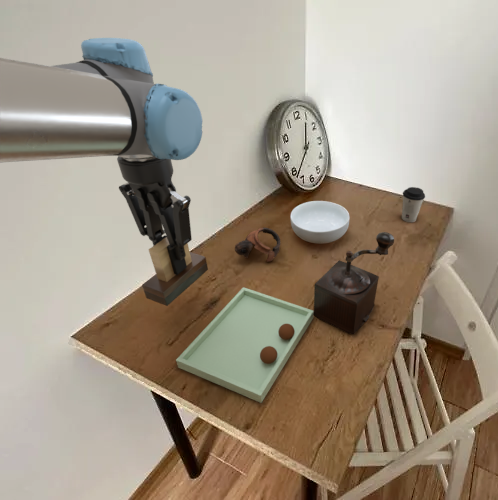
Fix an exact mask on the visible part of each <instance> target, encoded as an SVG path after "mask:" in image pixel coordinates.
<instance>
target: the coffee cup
mask: <svg viewBox="0 0 498 500" xmlns="http://www.w3.org/2000/svg"><path fill="white" fill-rule="evenodd" d="M425 198H426V194H425V193H424V190H423V189H422V188H420V187H415V186H410V187H408V188H406V189H404V190H403V191H402V208H401V219H402V220H403V221H404V222H406V223H414V222H416V221H417V218H418V215H419V213H420V210H421V209H422V208H421V207H422V205H423V202H424V200H425Z"/></svg>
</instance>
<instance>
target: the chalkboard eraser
mask: <svg viewBox="0 0 498 500" xmlns="http://www.w3.org/2000/svg"><path fill="white" fill-rule="evenodd" d="M168 245H170V244H169V242H168V239H167V237H166V238H165V239H163V240H162V241H160V242H159V243H157V244H156V245H154V246H151V247H150V248H148V253H149V255H150V259H151V263H152V265H153V269H154V271H155V274H154V275H153V276H151V277H150V278H149V279H147V280H146V281H144V283H142V284H141V287H142V289H143V292H144V295H145V298H146V299H147V300H150V301H153V302H156V303H157V304H161V305H163V306H166V307H168V306H170V304H171V303H173V302H174V301H175V300H176V299H177V298H179V296H180V295H182V294H183V293H184V292H185V291H186V290H187V289H188V288H190V287H191V286H192V285H193V284H194V283H195V282H196V281H197V280H198V279H199V278H200V277H202V276H203V275H204V274H205V273H206V272H207V271H208V270H209V268H208V267H209V266H208V262H207V257H206V256H204V255H201V254H197V253H194V252H191V251H190V248H189V242H188V243H187V244H186V245H184V249H185V254H186V256H185V261H186V265H187V267H186V268H185V269H184V270H183V271H182V272H180V273H179V274H178V275H176V274H174V271H173V268H172V264H171V261H170V257H169V253H168V250H167V246H168Z"/></svg>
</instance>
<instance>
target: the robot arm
mask: <svg viewBox="0 0 498 500" xmlns="http://www.w3.org/2000/svg"><path fill="white" fill-rule="evenodd" d="M80 49H81V52H82V59H83V60H79V61H76V62H70V63H62V64H55V65H54V64H53V65H45V64H39V63H34V62H27V61H22V60H15V59H11V58H4V57H0V164H1V163H16V162H33V161H34V162H35V161H48V160H49V161H50V160H66V159H80V158H81V159H83V158H97V157H99V158H100V157H114V156H115V157H117V158H116V161H117V164H118V167H119V170H120V173H121V176H122V178H123V180H124V181H126V182H125V183H123V184H121V185H118V190H119V191H120V193H121V194H122V196H123V197H124V199H125V201H126V204H127V206H128V208H129V210H130V212H131V214H132V217H133V219H134V222H135V224H136V226H137V229H138V231H139V233H140V235H141V236H142V237H146V236H147V237H148V240H150V241H151V243H152V245H153V246H154V245H156V244H157V243H159V242H160V241H162V240H163V239H165V238H166V237H167V239H168V242H169V244H170V245H168V246H167V250H168V253H169V257H170V261H171V264H172V268H173V271H174V274H176V275H178V274H179V273H180V272H182V271H183V270H184V269H185V268H186V267H187V265H186V261H185V256H186V254H185V249H184V245H186V244H187V243H188V244H189V243H190V242H191V241H192V239H193V238H192V228H191V218H190V209H189V208H190V205H191V201H192V199H191V198H190V196H189V195H184V196H182V195H180V194H179V193H178V192H177V188H176V186H175V184H174V183H173V180H172V179H173V178H172V177H173V175H174V167H173V164H172V163H173V162H172V161H182V160H186V159H187V158H189V157H191V156H192V155H193V154H194V153H195V152H196V151H197V149H198V148H199V145H200V143H201V140H202V137H203V116H202V113H201V112H202V111H201V109H200V107H199V105H198V103H197V101H196V100H195V98H194V97H193V96H192V95H191V94H189V93H188V92H187V91H185V90H184V89H181V88H176V87H173V86H168V85H167V84H164V83H154V78H153V77H154V73H153V72H152V69H151V66H150V63H149V60H148V56H147V53H146V50H145V47H144V46H143V45H142V44H141V43H140V42H139V41H137V40H135V39H130V38H123V37H122V38H121V37H94V38H89V39H88V38H87V39H85V40H83V41H81V44H80ZM153 246H152V247H153Z"/></svg>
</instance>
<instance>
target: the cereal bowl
mask: <svg viewBox="0 0 498 500" xmlns="http://www.w3.org/2000/svg"><path fill="white" fill-rule="evenodd" d="M289 217H290V226H291V229H292V230H293V231H292V232H294V234H295V235H296V236H297V237H298V238H300V239H301V240H303V241H305V242H307V243H312V244H322V245H323V244H329V243H332V242H335V241H337V240H339V239H341V238H342V237H343V236H344V235H345V234H346V232H347V231H348V229H349V226H350V213H349V211H348V210H347V209H346V208H345V207H344V206H343V205H340V204H338V203H335V202H331V201H326V200H313V201H307V202H303V203H301V204H299V205H297V206H295V207H294V208H293V209H292V211H291V212H290V216H289Z"/></svg>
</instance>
